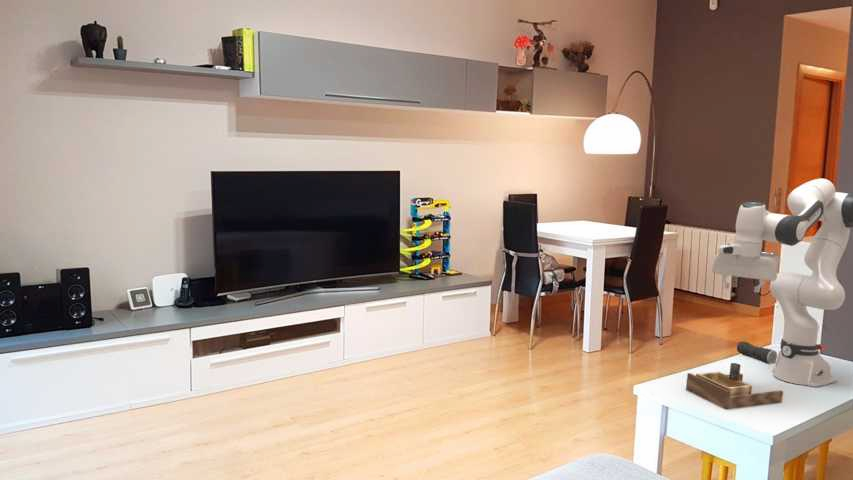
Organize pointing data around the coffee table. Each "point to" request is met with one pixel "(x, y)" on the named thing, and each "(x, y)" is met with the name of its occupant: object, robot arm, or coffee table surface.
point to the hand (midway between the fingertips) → (741, 290)
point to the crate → (728, 380)
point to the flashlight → (757, 352)
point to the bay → (723, 395)
